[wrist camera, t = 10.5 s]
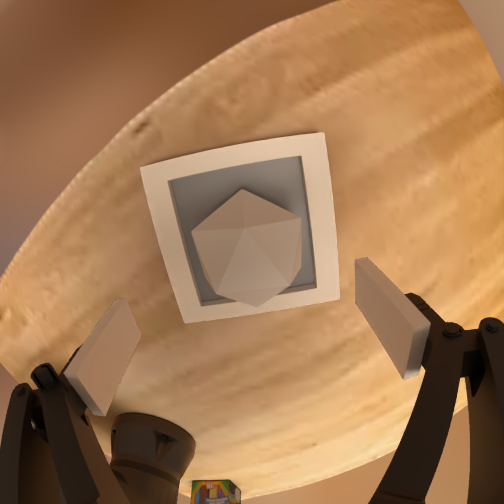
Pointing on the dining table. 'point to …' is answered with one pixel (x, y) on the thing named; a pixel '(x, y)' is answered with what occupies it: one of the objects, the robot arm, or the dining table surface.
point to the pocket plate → (262, 185)
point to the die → (249, 248)
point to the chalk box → (215, 492)
